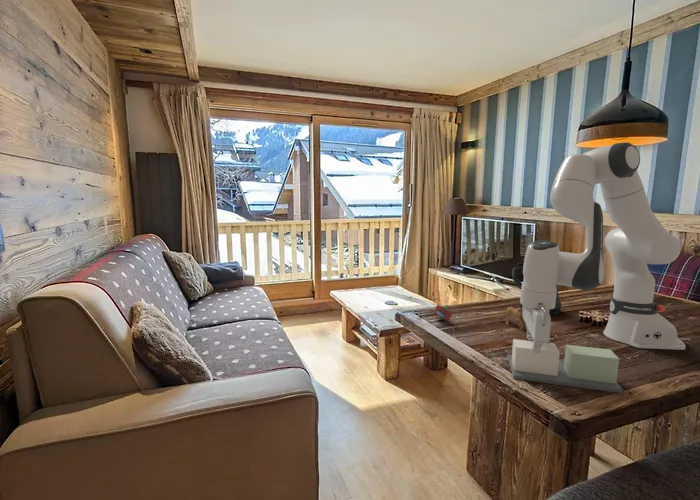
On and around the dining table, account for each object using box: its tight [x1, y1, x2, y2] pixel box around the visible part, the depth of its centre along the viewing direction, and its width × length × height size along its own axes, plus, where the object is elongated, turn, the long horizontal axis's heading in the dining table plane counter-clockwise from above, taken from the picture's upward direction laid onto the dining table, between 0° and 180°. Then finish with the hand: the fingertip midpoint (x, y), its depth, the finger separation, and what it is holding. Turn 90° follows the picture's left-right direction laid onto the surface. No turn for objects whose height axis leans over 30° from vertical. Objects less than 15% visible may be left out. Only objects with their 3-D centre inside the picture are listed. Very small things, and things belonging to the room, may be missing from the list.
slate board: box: [507, 353, 624, 394], centre depth 104 cm, size 26×14×1 cm, turn 73°
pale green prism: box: [563, 344, 620, 384], centre depth 100 cm, size 11×6×7 cm, turn 73°
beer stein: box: [511, 256, 562, 317], centre depth 158 cm, size 16×19×25 cm
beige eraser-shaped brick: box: [511, 338, 561, 376], centre depth 104 cm, size 11×6×7 cm, turn 73°
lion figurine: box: [499, 306, 527, 331], centre depth 140 cm, size 15×5×9 cm, turn 34°
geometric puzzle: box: [433, 304, 453, 323], centre depth 146 cm, size 7×7×8 cm
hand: (533, 345), depth 104 cm, fingers open, 8 cm apart
